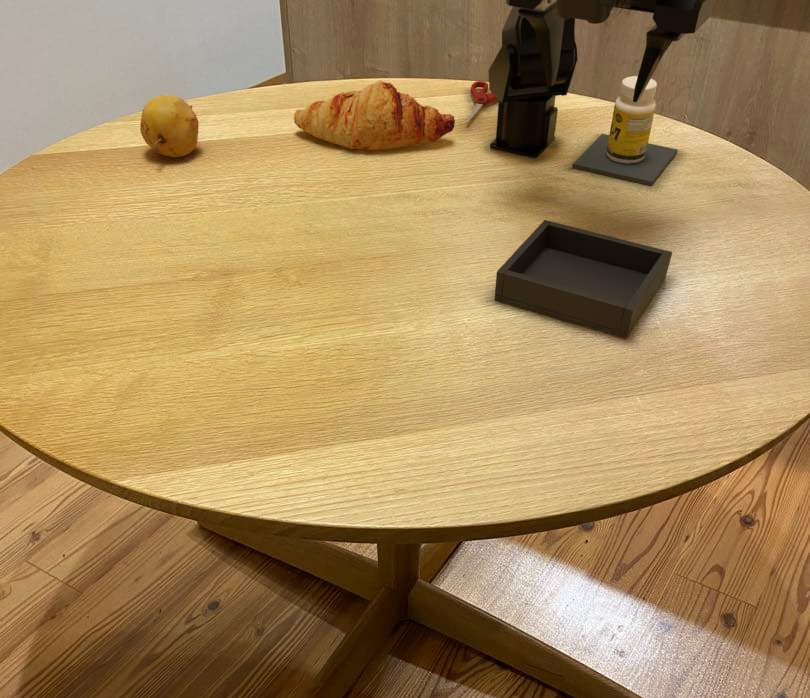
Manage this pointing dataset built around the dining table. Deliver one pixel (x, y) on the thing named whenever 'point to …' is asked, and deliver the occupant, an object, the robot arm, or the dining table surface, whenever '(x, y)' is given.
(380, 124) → the croissant
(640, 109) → the supplement bottle
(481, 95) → the scissors
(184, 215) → the dining table surface
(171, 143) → the fruit
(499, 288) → the tray
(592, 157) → the mat
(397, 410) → the dining table surface
